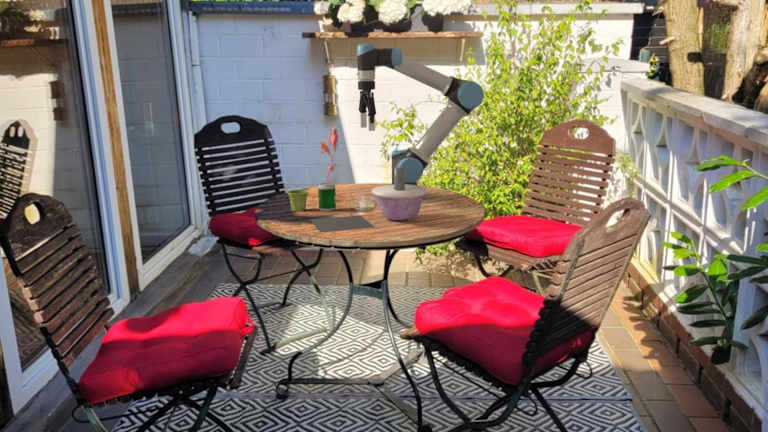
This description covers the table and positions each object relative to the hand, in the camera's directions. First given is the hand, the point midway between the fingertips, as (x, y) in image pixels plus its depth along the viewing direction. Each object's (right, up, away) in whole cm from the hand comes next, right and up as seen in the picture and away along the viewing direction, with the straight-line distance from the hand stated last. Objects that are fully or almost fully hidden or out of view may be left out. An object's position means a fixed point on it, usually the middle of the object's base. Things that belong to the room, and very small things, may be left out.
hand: (367, 129), depth 315 cm
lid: (+14, -29, -21) cm, 38 cm away
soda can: (-18, -36, 0) cm, 40 cm away
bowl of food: (+14, -40, -19) cm, 46 cm away
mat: (-10, -42, -25) cm, 50 cm away
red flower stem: (-15, -30, +25) cm, 42 cm away
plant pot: (-31, -36, +1) cm, 47 cm away
